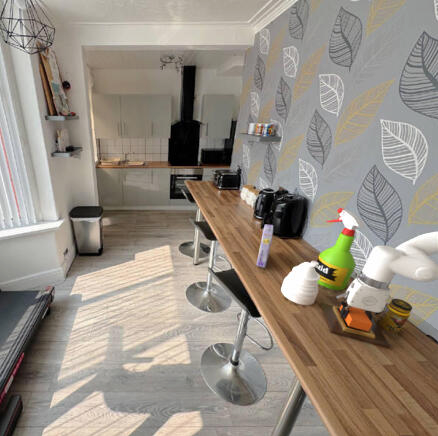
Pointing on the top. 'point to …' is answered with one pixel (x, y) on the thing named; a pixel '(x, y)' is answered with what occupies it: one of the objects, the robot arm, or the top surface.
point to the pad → (358, 319)
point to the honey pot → (302, 284)
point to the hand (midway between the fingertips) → (353, 318)
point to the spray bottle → (339, 254)
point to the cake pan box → (265, 246)
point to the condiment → (395, 315)
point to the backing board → (342, 328)
